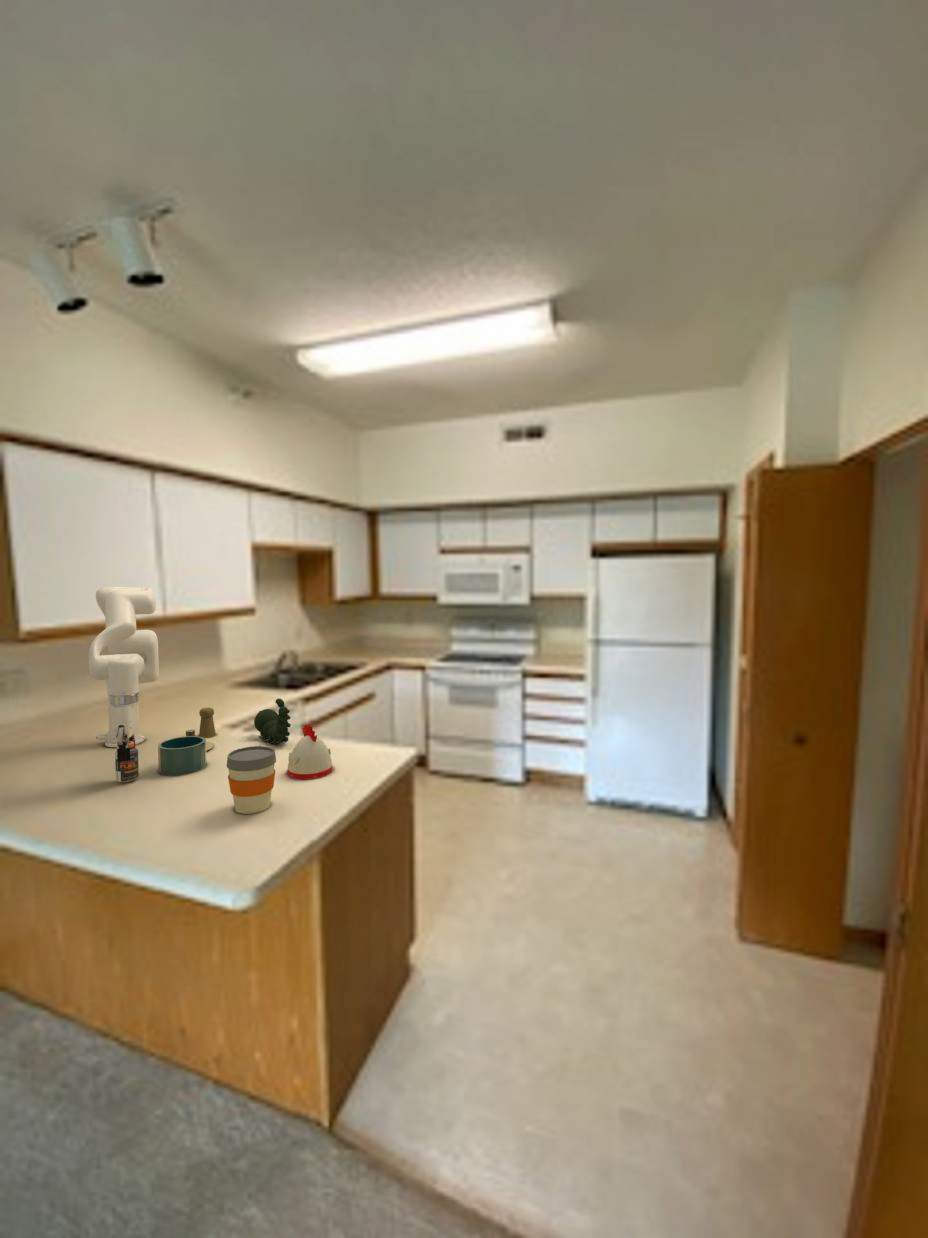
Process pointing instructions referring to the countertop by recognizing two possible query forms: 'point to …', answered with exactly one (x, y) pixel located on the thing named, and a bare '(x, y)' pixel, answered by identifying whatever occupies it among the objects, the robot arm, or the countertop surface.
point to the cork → (207, 723)
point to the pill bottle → (128, 766)
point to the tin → (182, 755)
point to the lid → (192, 733)
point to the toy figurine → (273, 723)
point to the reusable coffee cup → (251, 778)
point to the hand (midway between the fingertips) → (126, 756)
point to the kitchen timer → (309, 757)
